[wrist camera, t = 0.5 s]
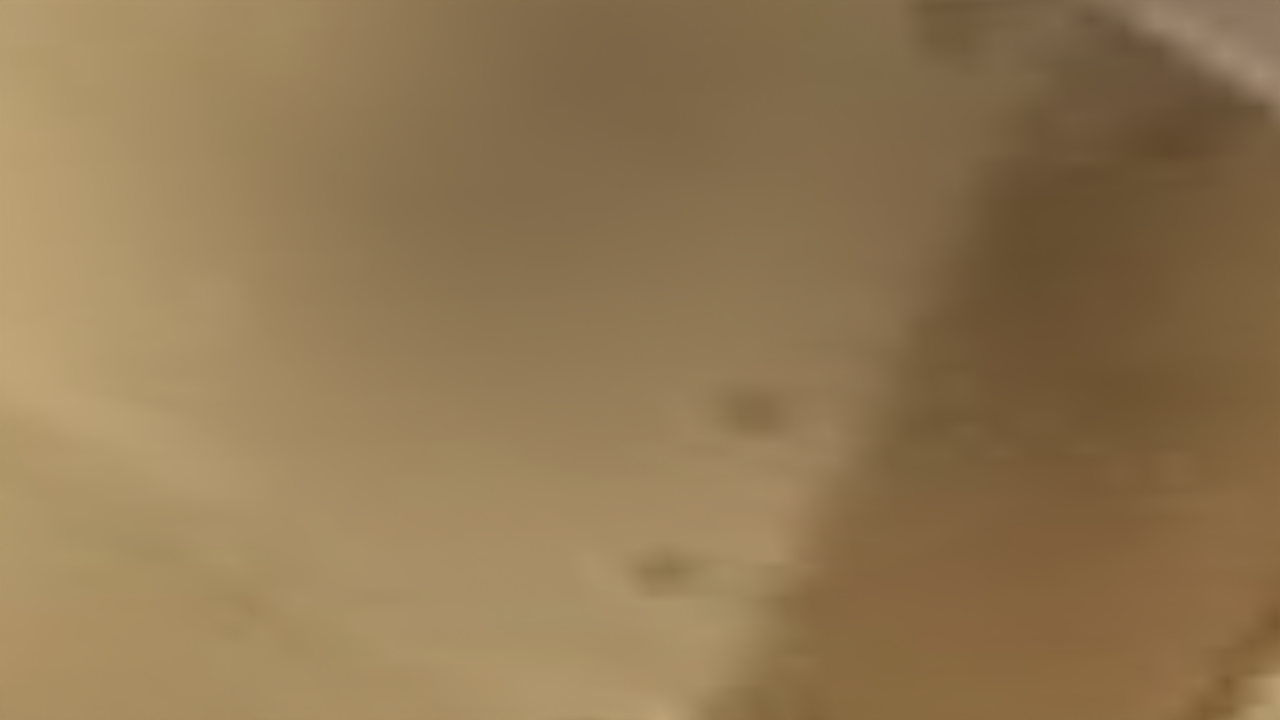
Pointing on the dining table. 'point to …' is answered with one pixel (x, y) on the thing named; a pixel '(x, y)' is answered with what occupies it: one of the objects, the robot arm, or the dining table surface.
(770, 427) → the dining table surface
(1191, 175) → the dining table surface
